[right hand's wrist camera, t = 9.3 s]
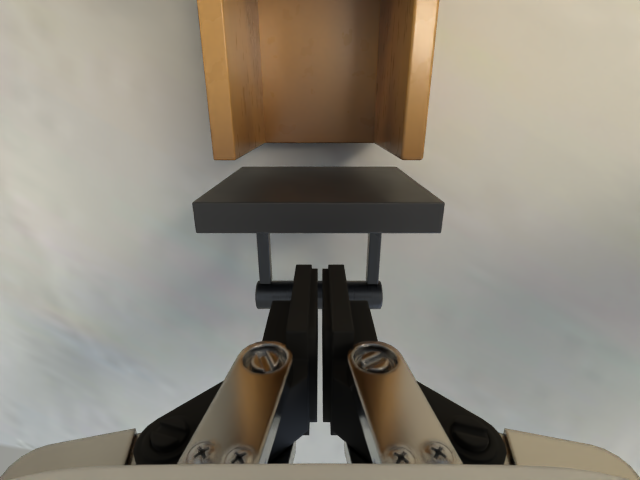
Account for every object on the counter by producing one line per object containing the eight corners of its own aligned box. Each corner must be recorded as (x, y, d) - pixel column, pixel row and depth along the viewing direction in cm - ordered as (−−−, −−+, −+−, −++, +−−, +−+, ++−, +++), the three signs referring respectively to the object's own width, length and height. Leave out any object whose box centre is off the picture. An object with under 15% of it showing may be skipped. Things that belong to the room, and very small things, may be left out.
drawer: (388, 273, 23) (424, 360, 15) (250, 273, 23) (212, 360, 15) (430, -273, 14) (572, -766, 6) (207, -272, 14) (62, -763, 6)
